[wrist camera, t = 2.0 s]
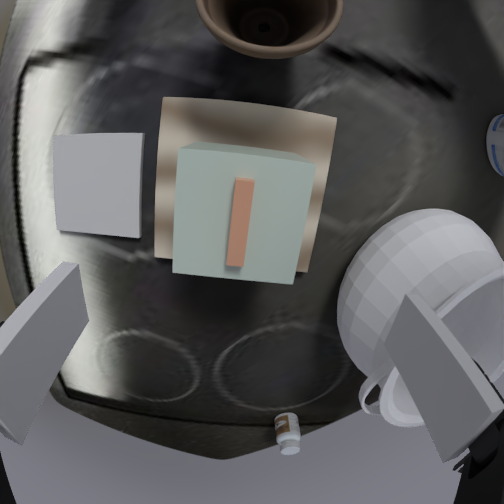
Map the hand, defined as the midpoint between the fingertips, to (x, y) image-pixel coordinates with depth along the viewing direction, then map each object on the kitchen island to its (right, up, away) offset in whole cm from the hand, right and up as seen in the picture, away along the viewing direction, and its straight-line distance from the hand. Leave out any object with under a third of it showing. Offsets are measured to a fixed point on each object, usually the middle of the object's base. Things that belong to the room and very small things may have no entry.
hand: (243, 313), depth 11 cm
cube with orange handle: (-1, +8, +17) cm, 19 cm away
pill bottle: (+7, -29, +38) cm, 49 cm away
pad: (-18, +10, +20) cm, 29 cm away
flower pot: (+1, +26, +14) cm, 29 cm away
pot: (+23, -2, +27) cm, 35 cm away
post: (-1, +9, +21) cm, 23 cm away
